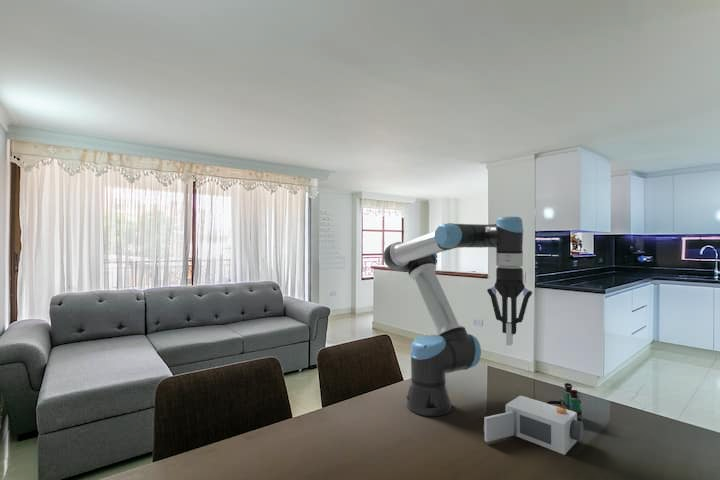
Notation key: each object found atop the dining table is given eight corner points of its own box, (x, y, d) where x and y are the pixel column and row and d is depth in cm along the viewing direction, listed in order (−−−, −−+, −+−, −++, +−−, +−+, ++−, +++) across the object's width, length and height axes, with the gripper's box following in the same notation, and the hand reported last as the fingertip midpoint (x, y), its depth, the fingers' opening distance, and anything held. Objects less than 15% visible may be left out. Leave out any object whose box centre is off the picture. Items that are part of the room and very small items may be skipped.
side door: (513, 432, 105) (512, 409, 106) (517, 434, 104) (517, 412, 104) (483, 439, 102) (482, 416, 102) (487, 442, 100) (486, 418, 100)
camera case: (505, 432, 107) (505, 402, 107) (520, 420, 114) (520, 392, 114) (572, 458, 94) (572, 424, 94) (585, 443, 101) (584, 412, 101)
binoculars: (540, 382, 120) (573, 381, 118) (544, 414, 120) (577, 414, 118) (549, 393, 112) (584, 392, 110) (553, 427, 111) (589, 427, 109)
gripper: (484, 267, 111) (484, 344, 111) (531, 268, 104) (531, 350, 104) (489, 265, 117) (489, 338, 117) (534, 267, 111) (534, 344, 111)
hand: (509, 344), depth 111 cm, fingers closed
